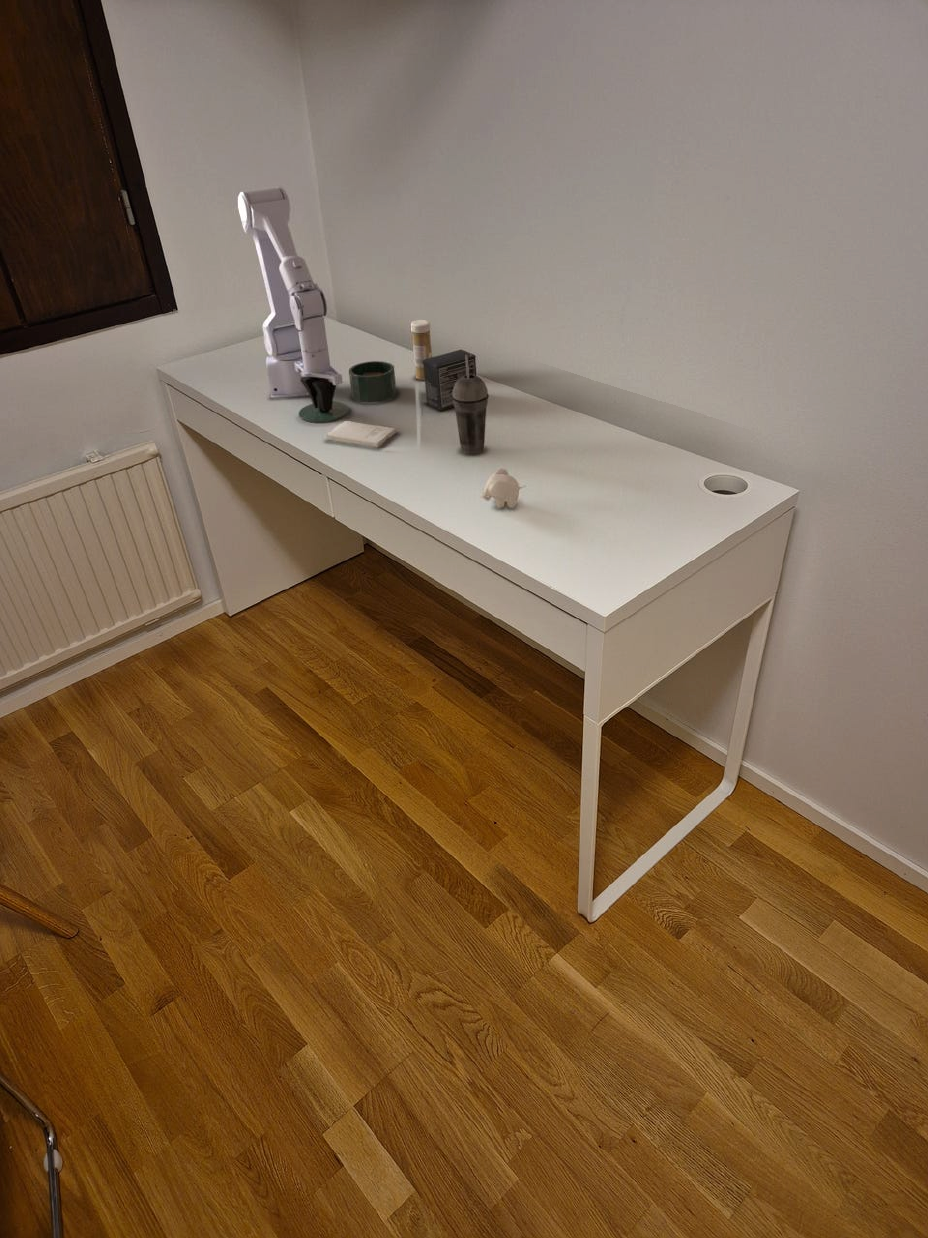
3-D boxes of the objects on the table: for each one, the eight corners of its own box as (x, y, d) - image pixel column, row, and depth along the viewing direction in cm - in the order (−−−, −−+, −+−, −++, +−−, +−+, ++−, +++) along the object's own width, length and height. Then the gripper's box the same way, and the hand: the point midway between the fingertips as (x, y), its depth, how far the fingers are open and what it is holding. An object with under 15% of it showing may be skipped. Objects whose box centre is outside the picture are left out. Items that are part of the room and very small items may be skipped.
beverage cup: (495, 444, 177) (492, 347, 166) (484, 459, 172) (480, 360, 160) (461, 441, 179) (456, 345, 168) (449, 456, 174) (443, 358, 162)
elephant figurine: (482, 495, 159) (481, 466, 156) (526, 495, 158) (526, 466, 155) (479, 513, 154) (478, 483, 150) (524, 513, 153) (524, 483, 149)
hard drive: (346, 427, 188) (396, 434, 184) (326, 441, 183) (377, 449, 178) (345, 419, 188) (395, 427, 183) (325, 434, 182) (377, 442, 177)
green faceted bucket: (351, 405, 198) (347, 378, 195) (353, 389, 207) (350, 362, 203) (396, 402, 199) (393, 375, 195) (396, 386, 207) (394, 359, 203)
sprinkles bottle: (437, 377, 211) (434, 321, 203) (423, 382, 209) (419, 326, 201) (425, 373, 214) (421, 317, 206) (411, 378, 211) (406, 322, 204)
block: (364, 397, 201) (362, 379, 198) (365, 390, 204) (363, 372, 202) (383, 396, 201) (381, 378, 198) (383, 389, 204) (381, 371, 202)
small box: (463, 392, 202) (461, 347, 196) (479, 400, 197) (477, 355, 191) (425, 403, 197) (421, 358, 191) (440, 411, 193) (437, 365, 187)
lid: (297, 426, 190) (293, 404, 187) (302, 407, 199) (298, 386, 196) (347, 423, 190) (345, 401, 187) (350, 404, 199) (347, 382, 196)
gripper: (279, 346, 188) (289, 406, 196) (320, 360, 179) (329, 422, 187) (305, 338, 192) (314, 397, 200) (346, 351, 183) (354, 412, 191)
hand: (323, 408), depth 194 cm, fingers closed on lid, 2 cm apart
